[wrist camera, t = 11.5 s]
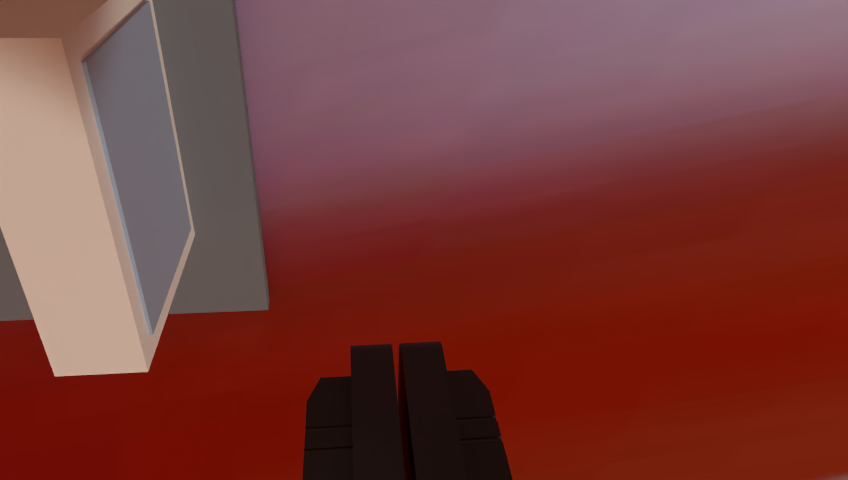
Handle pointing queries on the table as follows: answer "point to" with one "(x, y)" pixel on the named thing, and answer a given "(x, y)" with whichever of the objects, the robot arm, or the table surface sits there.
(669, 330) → the table surface
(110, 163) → the beige flat block
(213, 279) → the mat
